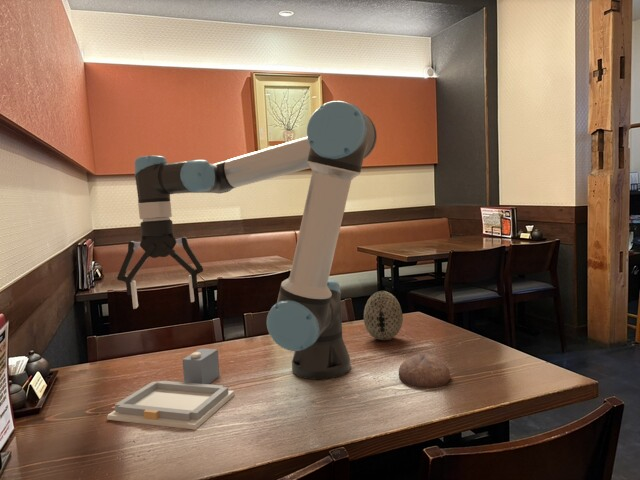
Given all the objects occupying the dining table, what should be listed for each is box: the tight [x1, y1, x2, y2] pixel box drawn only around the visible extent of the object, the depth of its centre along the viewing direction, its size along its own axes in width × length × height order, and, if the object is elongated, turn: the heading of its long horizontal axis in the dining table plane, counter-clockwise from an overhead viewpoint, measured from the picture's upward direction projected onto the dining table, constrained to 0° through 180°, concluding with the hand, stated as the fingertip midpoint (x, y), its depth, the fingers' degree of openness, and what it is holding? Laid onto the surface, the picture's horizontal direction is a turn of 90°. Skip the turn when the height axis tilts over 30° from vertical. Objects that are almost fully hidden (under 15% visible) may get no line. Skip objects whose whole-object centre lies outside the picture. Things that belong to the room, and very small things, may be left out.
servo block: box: [181, 348, 221, 384], centre depth 112 cm, size 5×8×8 cm, turn 163°
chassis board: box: [106, 380, 235, 431], centre depth 99 cm, size 21×16×2 cm
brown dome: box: [398, 353, 451, 389], centre depth 107 cm, size 12×12×6 cm
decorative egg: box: [363, 290, 404, 341], centre depth 137 cm, size 12×12×15 cm
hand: (164, 304), depth 114 cm, fingers open, 13 cm apart
